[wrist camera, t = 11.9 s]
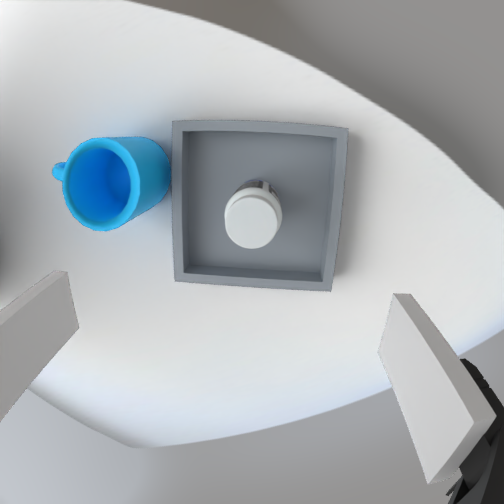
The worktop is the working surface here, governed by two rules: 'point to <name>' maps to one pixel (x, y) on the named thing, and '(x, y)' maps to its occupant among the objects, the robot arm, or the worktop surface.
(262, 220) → the pill bottle
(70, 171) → the mug
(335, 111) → the worktop surface
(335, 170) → the tray
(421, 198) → the worktop surface
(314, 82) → the worktop surface
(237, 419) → the worktop surface
